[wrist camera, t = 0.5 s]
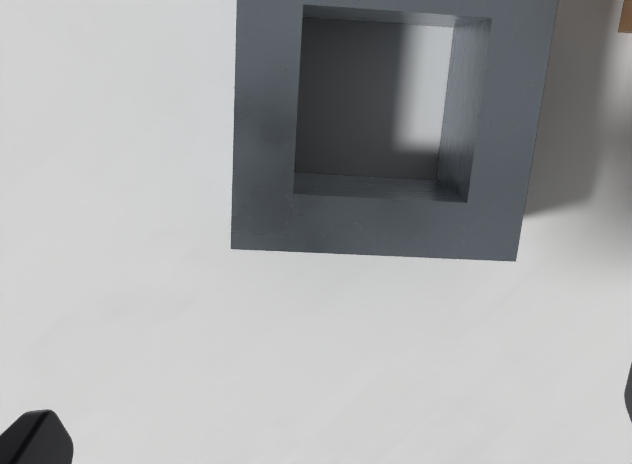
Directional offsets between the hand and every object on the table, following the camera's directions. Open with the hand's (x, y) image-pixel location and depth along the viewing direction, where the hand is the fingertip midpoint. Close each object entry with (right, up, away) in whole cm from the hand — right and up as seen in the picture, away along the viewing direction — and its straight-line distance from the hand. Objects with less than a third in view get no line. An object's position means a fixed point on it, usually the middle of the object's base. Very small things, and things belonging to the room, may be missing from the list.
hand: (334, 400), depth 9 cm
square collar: (+2, +7, +12) cm, 15 cm away
